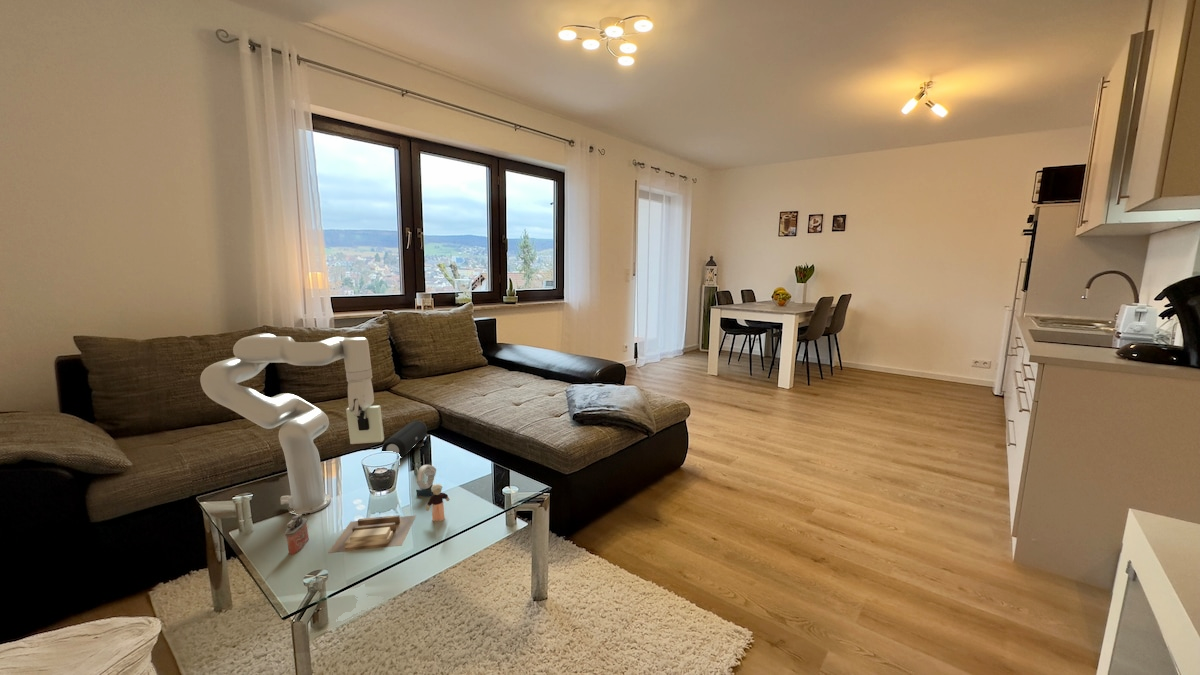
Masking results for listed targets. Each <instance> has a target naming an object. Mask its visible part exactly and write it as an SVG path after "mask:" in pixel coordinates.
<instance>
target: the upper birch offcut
mask: <svg viewBox="0 0 1200 675" xmlns="http://www.w3.org/2000/svg"><path fill="white" fill-rule="evenodd" d="M390 532H391V530H390V527H384V528H374V529H364V530H355V531H354V532H353V533H352V535H351V536H350V542H359V541H368V540H378V539H387V537H388V535H389V534H390Z"/></svg>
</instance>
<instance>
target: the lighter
mask: <svg viewBox="0 0 1200 675" xmlns="http://www.w3.org/2000/svg"><path fill="white" fill-rule="evenodd" d="M307 522H308V518H307V517H303V515H302V514H298V515H294V516H292V518H291V520H290V521H289V522H288V523H287V524H286V530H285V531H284V535H285V538H286V543H287V549H288V554H287V555H295V554H297V553H298V552H300V551H301V550H302V549H303V548H304V547H305V546H306V544H308V542H309V540H310V539H309V538H310V537H309V531H308V525H307Z"/></svg>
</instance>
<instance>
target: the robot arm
mask: <svg viewBox="0 0 1200 675" xmlns="http://www.w3.org/2000/svg"><path fill="white" fill-rule="evenodd" d="M232 348H233V351H232V353H233V355H234V357H231V358H230V357H229V358H228V359H227V358H226V359H224V360H220V361H217V362H214V363H212V364H210V365H209V366H207V367H205V369H203V371H202V372H201V375H200V380H199V382H200V386H201V388H202V391H203V393H205V395H206V396H207V397H208V398H209V399H211V400H212V401H213V402H214V403H217V404H218V405H221V406H223V407H225V408H227V409H229V410H231V411H233V412H235V413H236V414H238V415H240V416H242V417H243V418H245V419H247V420H249V421H251V423H254V424H256V425H257V426H260V428H264V429H267V430H270V429H275V428H276V427H278V426H280V425H281V427H280V428H279V431H278V441H279V443H280V446H281V448H282V451H283V454H284V459H285V464H286V468H287V469H286V470H287V476H288V477H287V478H288V482H289V490H290V495H282V496H280V498H279V499H280V505H288V507H290V508H293V510H292V511H294V510H295V511H294V512H292V511H290V512H292V513H296V514H305V515H307V514H306V513H310V514H313V513H315V512H318V511H321V510H323V509H324V508H326V507H327V506H329V505H330V504H331V502H332V497H331V496H330V495H329V494H326V493H325V486H324V479H323V472H322V464H321V458H320V452H319V450H318V448H317V446H316V444H315V443H314V440H315V439H316V438H317V437H319V436H321V435H322V434H324V432H325V431H326V430H328V428H329V424H330V420H329V417H328V415H327V414H326V413H325V412H324V411H323V409H320V408H318V407H317V406H315V405H313V404H312V403H310V402H308V401H306V400H305V399H303V398H302V397H300V396H298V395H295V394H293V393H288V392H287V393H286V392H285V393H284V392H283V393H279V394H276V395H274V396H271V397H270V396H266V395H264V394H262V393H260V392H259V391H257V390H256V389H254V388H251V387H248V386H244V385H240V383H242V382H245V381H248V380H250V379H253V378H254V377H256V376H257V375H258V374H260V372H262V370H264V369H265V368H266V367H267V366H268V365H269V364H270V363H271V364H272V363H276V364H277V363H278V364H280V363H283V364H284V363H286V364H288V365H293V366H301V367H311V366H312V367H315V366H326V365H329V364H331V363H334V362H337V361H339V360H342V359H343V361H344V367H345V368H344V369H345V375H346V382H347V401H348V403H347V404H348V408H349V411H351V412H352V411H354V416H357V420H358V428H359V430H360V431H361V430H369V421H368V418H367V414H366V409H367V408H368V407H369V406H373V404H374V402H375V395H374V388H373V383H372V382H373V381H372V379H373V370H372V364H371V363H372V362H371V353H370V345H369V340H368V339H367V338H366V337H364V336H354V337H346V336H345V337H344V336H333V337H329V338H325V339H322V340H319V341H314V342H313V341H311V342H310V341H308V342H307V341H306V342H305V341H303V342H302V341H301V342H300V341H295V339H293V337H291V336H286V335H285V336H284V335H283V336H276V335H275V334H272V333H268V332H263V333H257V334H253V335H249V336H245V337H242V338H240V339H239V340H237V341H236V342H235V344H234V345H233V347H232ZM360 408H362V409H360ZM361 412H363V413H361ZM330 501H331V502H330Z"/></svg>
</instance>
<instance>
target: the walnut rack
mask: <svg viewBox="0 0 1200 675" xmlns="http://www.w3.org/2000/svg"><path fill="white" fill-rule="evenodd" d="M416 518H417V515H407V516H400V514H397V515H387V516H377V517H376V516H375V517H366V518H365V517H364V518H359V519H357V520H355V521H350V522H349V524H348V525H347V526H346V527H345V529H344V530H343V531H342V533H341V534H340V536H339V537H338V538H337V539H336V541H335V543H334V544H333V545H332V547H331V548H330V550H329V551H328V554H333V553H341V552H348V551H349V552H350V551H351V552H352V551H360V550H370V549H371V550H372V549H380V548H389V547H390V548H391V547H398V546H403V544H404V542H405V540H406V537H407V536H408V534H409V531H410V529H411V527H412V525H413V523H414V521H415V520H416ZM384 527H390V530H391V531H393V537H392V539H391V541H390V542H389V544H380V545H370V546H361V547H351V548H345V542H346V540H347V539H348V538H349V536H350V535H352V533H353V532H354V531H355V530H364V529H374V528H384Z"/></svg>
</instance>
